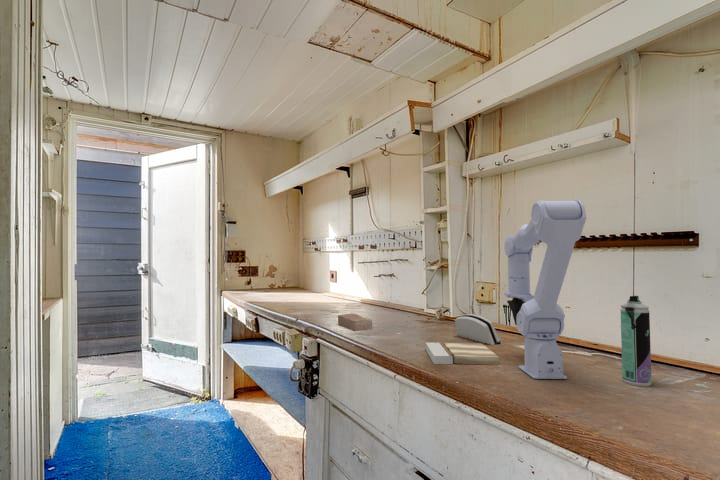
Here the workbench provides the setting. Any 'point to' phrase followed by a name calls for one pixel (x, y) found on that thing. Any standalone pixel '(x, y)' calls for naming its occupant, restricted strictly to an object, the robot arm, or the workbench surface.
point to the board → (439, 353)
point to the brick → (354, 322)
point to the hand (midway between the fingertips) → (519, 325)
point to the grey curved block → (477, 329)
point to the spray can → (635, 343)
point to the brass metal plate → (471, 353)
